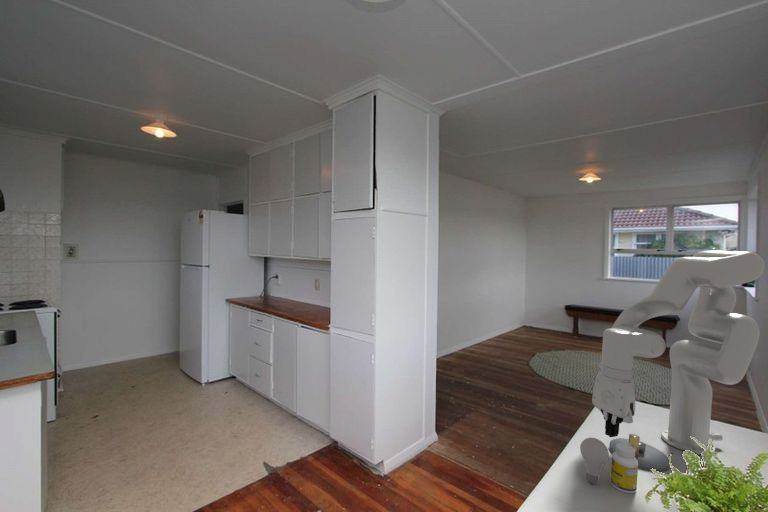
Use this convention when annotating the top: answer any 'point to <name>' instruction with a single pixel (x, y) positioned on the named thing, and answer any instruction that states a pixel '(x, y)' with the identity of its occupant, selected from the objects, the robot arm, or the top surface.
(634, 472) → the supplement bottle
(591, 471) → the lightbulb
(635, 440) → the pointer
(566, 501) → the top surface
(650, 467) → the dial plate
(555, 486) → the top surface
